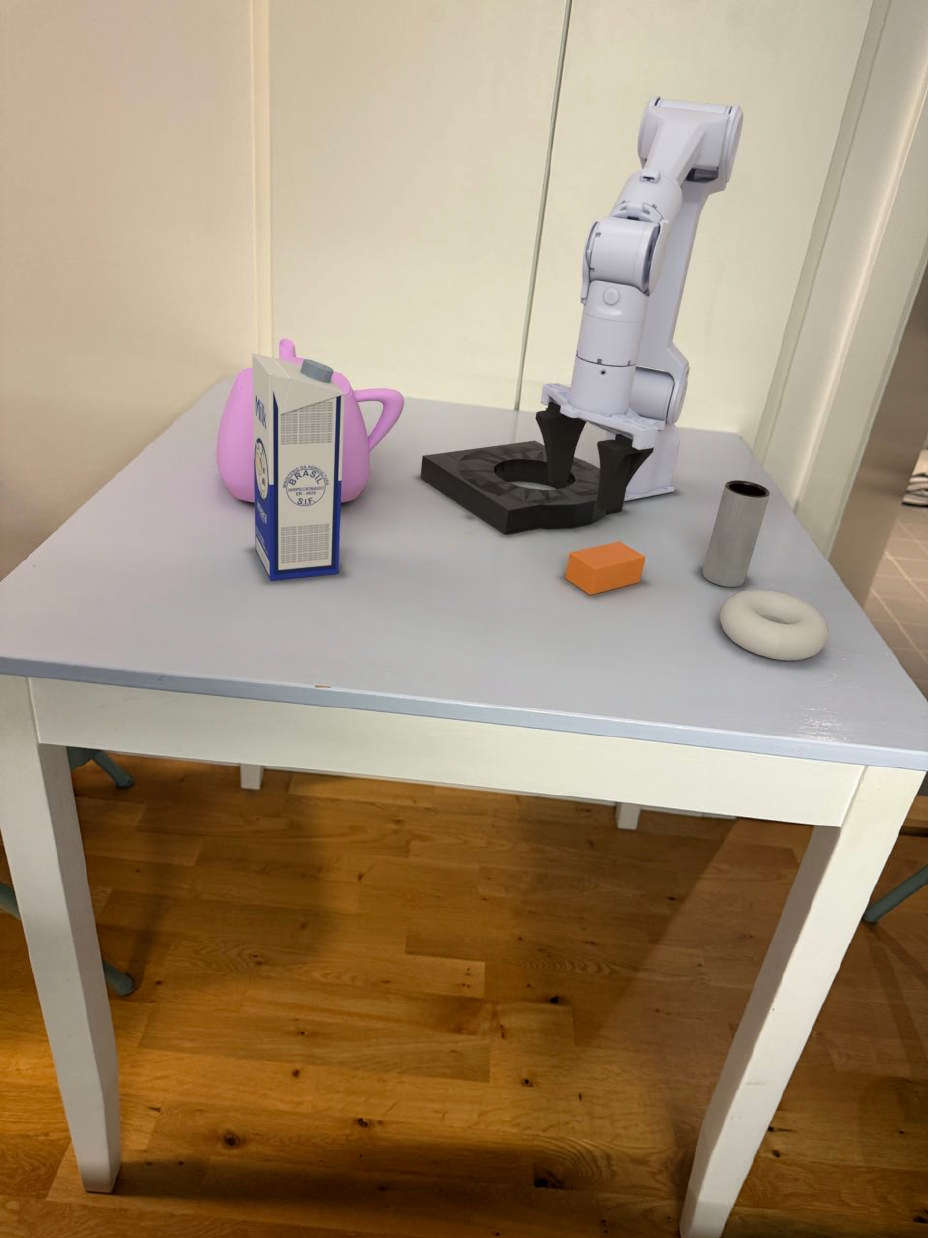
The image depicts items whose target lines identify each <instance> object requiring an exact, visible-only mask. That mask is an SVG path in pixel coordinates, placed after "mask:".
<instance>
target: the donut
mask: <svg viewBox="0 0 928 1238" xmlns="http://www.w3.org/2000/svg"><path fill="white" fill-rule="evenodd" d="M719 621H720V624H721V627H722V630H723V632H724V633H725V634H726V635H727V637H728V638H730V639H731V641H732V642H733V643H735V644H736V645H738V646H739V647H741V648H742V649H743V650H746V651H749V652H751V653H753V654H755V655H758V656H761V657H765V658H769V659H772V660H778V661H785V662H789V661H791V662H792V661H801V660H805V659H808V658H811V657H814V656H816V655H818V653H819V652H820V651H822V649H824V648H825V646H826V645H827V643H828V639H829V626H828V623H827V621H826V620H825V618H824V617H823V615H822V614H821V613H820V612H819V611H818V610H817V609H816V608H815V607H813V606H812V605H810V604H809V603H808V602H805V601H804V600H802V599H801V598H798V597H795V596H792V595H790V594H787V593H784V592H779V591H776V590H769V589H768V590H767V589H746V590H743V591H738V592H736V593H734V594H732V595H731V596H730V597H728V598H726V600H725V601H724V602H723V604H722V606H721V609H720V612H719Z"/></svg>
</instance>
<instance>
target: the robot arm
mask: <svg viewBox="0 0 928 1238" xmlns="http://www.w3.org/2000/svg"><path fill="white" fill-rule="evenodd" d="M743 123H744V111H743V110H742V108H741V105H739V104H733V105H725V104H718V103H709V102H708V103H707V102H699V101H688V100H681V99H670V98H662V97H661V96H658V95H654V96H652V98H651V99H650V100H649V101H648V102H647V103H646V105H645V106H644V109H643V112H642V116H641V120H640V124H639V129H638V136H637V147H636V148H637V156H638V158H639V159H638V160H639V162H640V166H641V167H640V168H641V169H638V170H637V171H635V172H633V173H632V174H631V175H630V176H629V177H627V179H626V180H625V182H624V185H623V186H622V188H621V190H620V192H619V194H618V196H617V198H616V200H615V202H614V203H613V206H612V208H611V210H610V212H609V214H608V215H604V216H603V217H602V218H601V221H598V220H594V221H593V222H592V224H591V225H590V228H589V229H588V233H587V237H586V240H585V245H584V248H583V256H582V266H581V267H582V268H581V275H582V283H581V291H580V304H582V305H583V307H582V313H581V319H580V325H579V332H578V337H577V344H576V350H575V355H574V363H573V367H572V368H573V369H572V374H571V381H570V386H567V385H564V384H561V383H559V382H553V383H544V384H543V385H542V389H541V398H540V403H541V404H542V405H544V406H547V407H545V410H538V411H536V412H535V421H536V423H537V425H538V428H539V430H540V434H541V437H542V441H543V445H544V446H545V451H546V459H547V469H548V478H549V481H550V482H552V483H555V482H562V481H567V480H568V477H569V475H570V472H571V468H572V464H573V459H574V457H575V453H576V450H577V446H578V443H579V441H580V437H581V435H582V433H583V430H584V428H585V426H586V424H587V423H589V424H590V425H593V426H594V427H597V428H599V429H601V430H603V431H605V437H604V440H598V441H597V444H596V447H597V452H598V459H599V468H600V482H599V488H598V496H597V509H599V510H600V511H607V510H612V509H616V508H617V506H618V504H619V502H620V500H621V498H622V496H623V494H624V492H625V490H626V493H625V498H624V502H627V501H632V500H637V499H643V498H647V497H653V496H658V495H664V494H669V493H673V492H675V487H674V486H672V480H673V476H674V471H675V468H676V463H677V458H678V455H679V449H680V444H681V439H680V438H681V437H680V433H679V428H678V427H677V426H676V423H678V421H679V419H680V416H681V413H682V410H683V407H684V404H685V401H686V400H685V399H686V395H687V390H688V382H689V374H690V369H691V366H690V362H689V359H688V358H687V357H686V355H684V354H683V353H682V351H680V349H679V348H678V347H677V346H676V345H675V343H674V335H675V332H676V326H677V323H678V318H679V313H680V309H681V308H680V307H681V303H682V300H683V295H684V291H685V285H686V281H687V278H688V277H687V276H688V272H689V267H690V262H691V258H692V253H693V250H694V245H695V240H696V235H697V230H698V226H699V222H700V217H701V214H702V211H703V209H704V207H705V204H706V202H707V201H708V198H709V196H711V195H713V194H717V193H720V192H723V191H725V190H726V188H727V185H728V183H729V182H730V180H731V176H732V173H733V168H734V164H735V159H736V155H737V153H738V152H737V151H738V148H739V144H740V140H741V135H742V130H743V125H744V124H743Z"/></svg>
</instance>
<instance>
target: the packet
mask: <svg viewBox="0 0 928 1238" xmlns="http://www.w3.org/2000/svg"><path fill="white" fill-rule="evenodd" d="M646 558H647V557H646V555H644V554H642V553H640V552H638V551H637V550H635V549H633V548H632V547H630V546H628V545H626V544H625V543H623V542H621V541H619V540H618V541H615V542H610V543H605V544H601V545H597V546H593V547H589V548H584V549H578V550H575V551H570V552H569V554H568V558H567V559H568V560H567V565H566V570H565V577H564V578H565V579H566V580H568V582H570V583H571V584H573V585H574V586H576V587H577V588H579V589H580V590H582V591H583V592H584V593H586V594H588V595H589V596H594V595H597V594H600V593H603V592H609V591H611V590H615V589H619V588H623V587H627V586H630V585H634V584H639V583H641V580H642V576H643V572H644V571H643V570H644V567H645V562H646Z"/></svg>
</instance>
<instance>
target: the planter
mask: <svg viewBox="0 0 928 1238" xmlns="http://www.w3.org/2000/svg"><path fill="white" fill-rule="evenodd" d="M770 496H771V492H770V490H769V489H768V488H767V487H765V486H763V485H761V484H759V483H756V482H753V481H747V480H737V479H735V480H729V481H727V482H726V483H725V484H724V487H723V490H722V494H721V499H720V502H719V506H718V509H717V514H716V518H715V521H714V524H713V528H712V531H711V536H710V540H709V544H708V549H707V551H706V555H705V560H704V563H703V567H702V573H701V574H702V576H703V578H704V579H705V580H707V581H709V582H711V584H715V585H718V586H721V587H727V588H737V587H741V586H742V585H744V583H745V581H746V578H747V576H748V571H749V569H750V566H751V565H750V564H751V562H752V558H753V554H754V552H755V548H756V544H757V541H758V537H759V533H760V531H761V527H762V523H763V520H764V517H765V513H766V509H767V506H768V504H769V499H770Z"/></svg>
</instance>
